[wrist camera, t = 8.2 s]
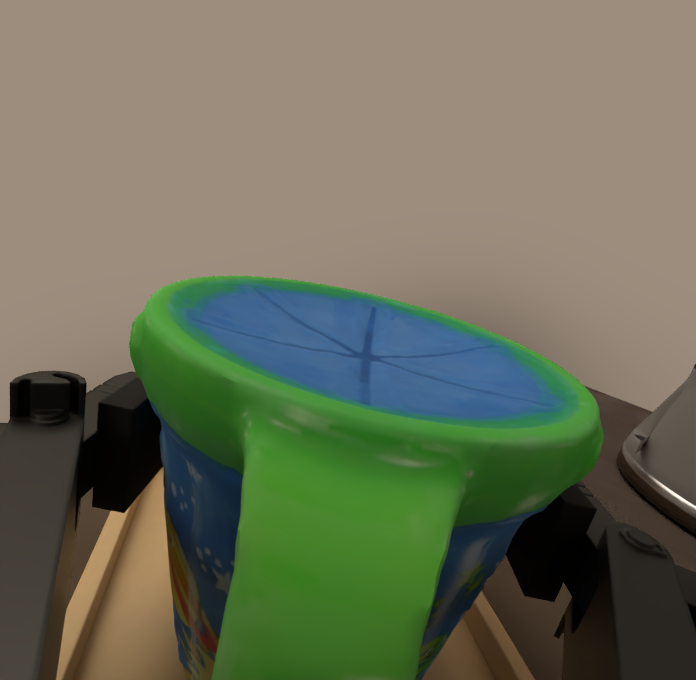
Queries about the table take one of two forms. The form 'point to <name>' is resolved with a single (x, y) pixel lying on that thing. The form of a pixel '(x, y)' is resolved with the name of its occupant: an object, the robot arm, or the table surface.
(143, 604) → the tray
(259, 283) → the snack cup
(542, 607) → the table surface
